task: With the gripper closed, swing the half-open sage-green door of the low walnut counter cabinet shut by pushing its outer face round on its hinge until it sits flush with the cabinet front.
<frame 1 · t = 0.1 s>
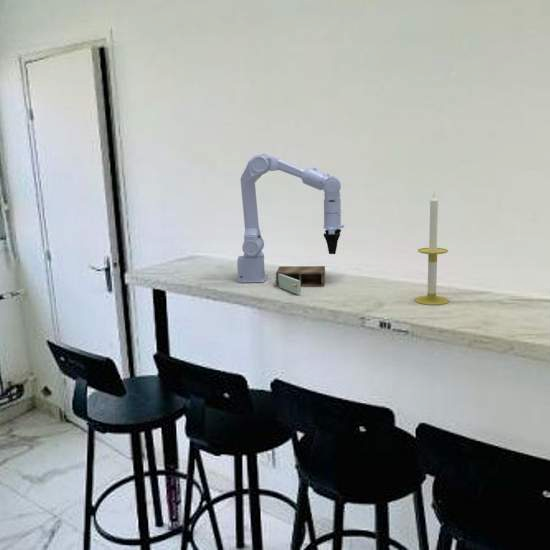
hand: (332, 251, 208), 10 cm above the worktop, fingers open, 7 cm apart
door: (287, 284, 196), point 3 cm above the worktop, hinge at -55.0°
cabinet: (301, 283, 207), on the worktop
candle: (431, 301, 180), on the worktop
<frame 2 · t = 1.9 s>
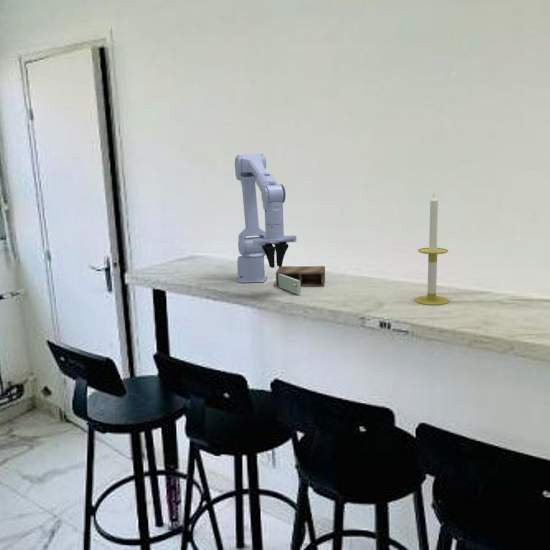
hand: (275, 266, 190), 9 cm above the worktop, fingers closed
nothing on the worktop moved.
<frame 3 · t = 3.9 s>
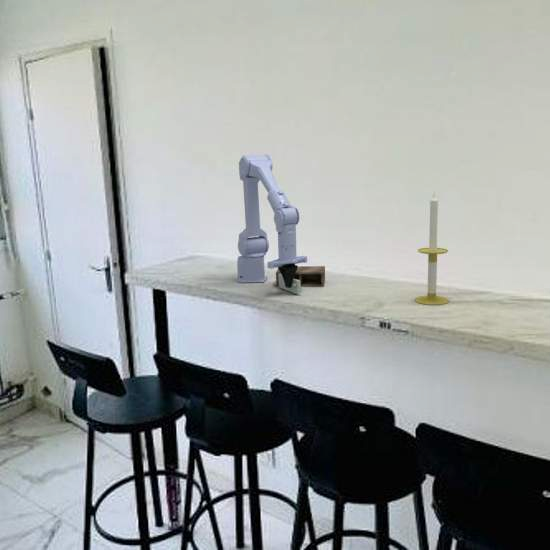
hand: (288, 287, 194), 2 cm above the worktop, fingers closed
door: (287, 284, 196), point 3 cm above the worktop, hinge at -54.7°, touching gripper
everything else where it was.
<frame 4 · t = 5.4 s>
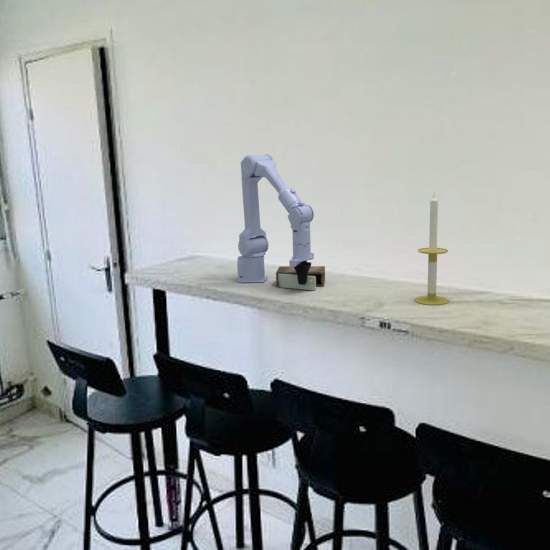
hand: (302, 284, 197), 2 cm above the worktop, fingers closed, pressing on door
door: (295, 282, 199), point 3 cm above the worktop, hinge at -20.4°, touching gripper
everything else where it was.
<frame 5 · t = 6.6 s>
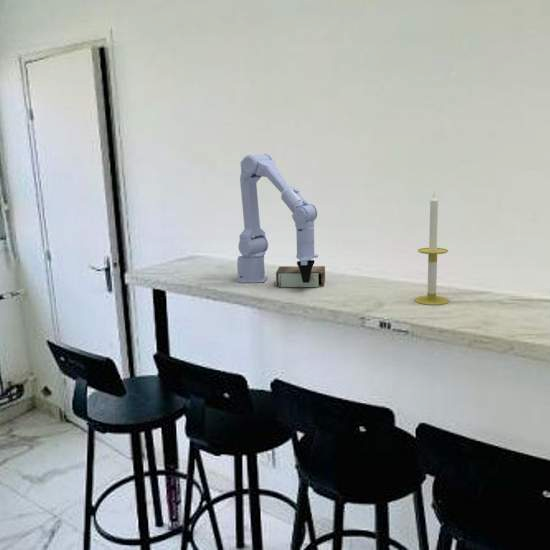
hand: (306, 282, 200), 2 cm above the worktop, fingers closed
door: (298, 280, 201), point 3 cm above the worktop, hinge at 0.2°, touching gripper
everything else where it was.
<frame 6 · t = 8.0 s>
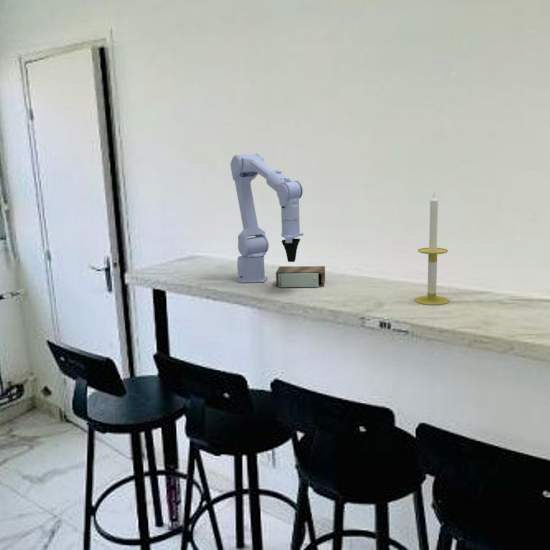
hand: (291, 261, 195), 10 cm above the worktop, fingers closed
door: (298, 280, 201), point 2 cm above the worktop, hinge at 0.3°
everything else where it was.
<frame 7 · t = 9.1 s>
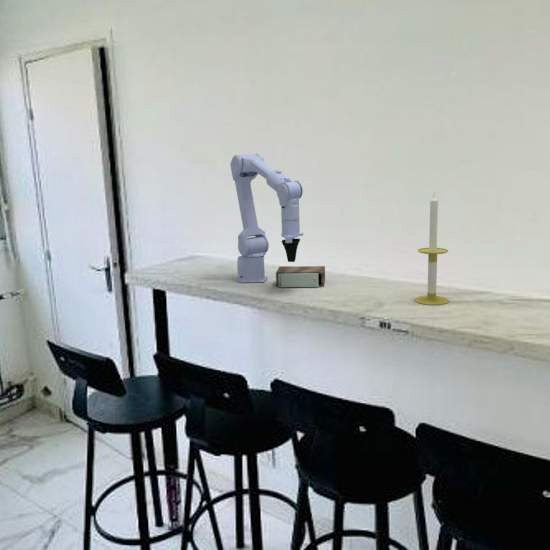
hand: (291, 261, 195), 10 cm above the worktop, fingers closed
nothing on the worktop moved.
at the end: door at +0° (first picture: -55°); door touching nothing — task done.
